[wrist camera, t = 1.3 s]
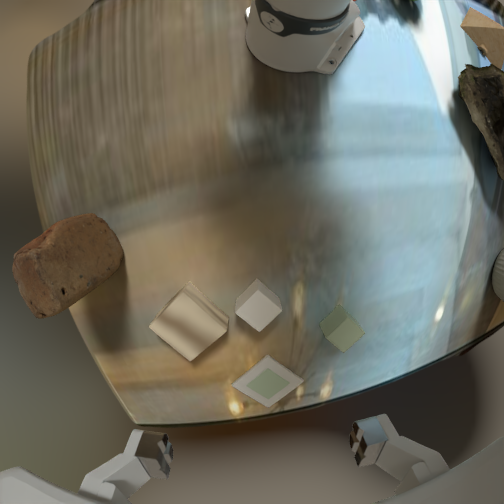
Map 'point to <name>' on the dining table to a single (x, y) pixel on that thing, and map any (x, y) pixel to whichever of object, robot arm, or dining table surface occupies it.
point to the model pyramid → (485, 35)
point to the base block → (190, 322)
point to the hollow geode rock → (486, 106)
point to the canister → (499, 276)
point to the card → (267, 381)
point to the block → (66, 263)
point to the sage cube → (341, 329)
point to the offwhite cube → (258, 305)
